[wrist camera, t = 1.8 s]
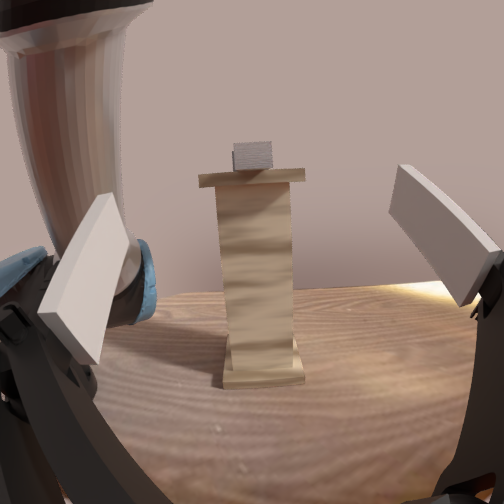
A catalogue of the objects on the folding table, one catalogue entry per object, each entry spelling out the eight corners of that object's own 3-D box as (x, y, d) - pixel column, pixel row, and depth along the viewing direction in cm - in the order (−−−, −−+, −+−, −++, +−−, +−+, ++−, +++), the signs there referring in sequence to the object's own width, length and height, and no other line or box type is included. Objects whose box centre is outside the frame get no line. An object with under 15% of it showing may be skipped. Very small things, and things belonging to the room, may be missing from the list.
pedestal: (304, 383, 40) (304, 168, 32) (223, 389, 40) (198, 174, 32) (292, 336, 53) (287, 169, 45) (228, 340, 53) (212, 174, 45)
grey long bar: (286, 166, 21) (283, 128, 20) (221, 170, 21) (219, 131, 20) (265, 170, 44) (264, 151, 43) (234, 172, 44) (233, 153, 43)
